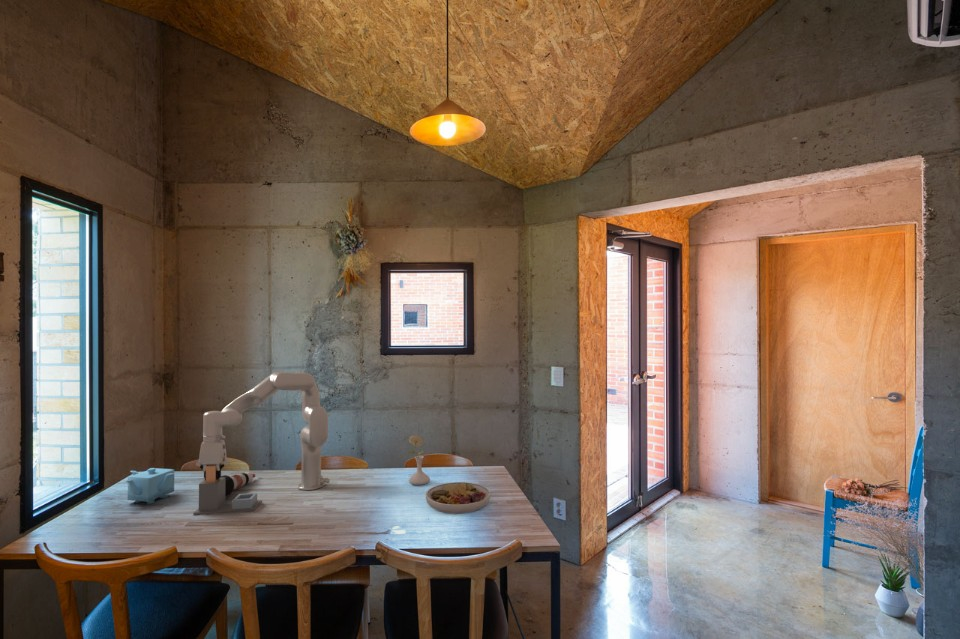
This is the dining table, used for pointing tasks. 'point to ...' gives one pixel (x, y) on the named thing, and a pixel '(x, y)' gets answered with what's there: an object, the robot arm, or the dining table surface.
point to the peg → (211, 473)
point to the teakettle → (150, 484)
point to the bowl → (457, 497)
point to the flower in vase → (418, 463)
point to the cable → (237, 481)
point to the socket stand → (223, 500)
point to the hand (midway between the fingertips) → (212, 478)
